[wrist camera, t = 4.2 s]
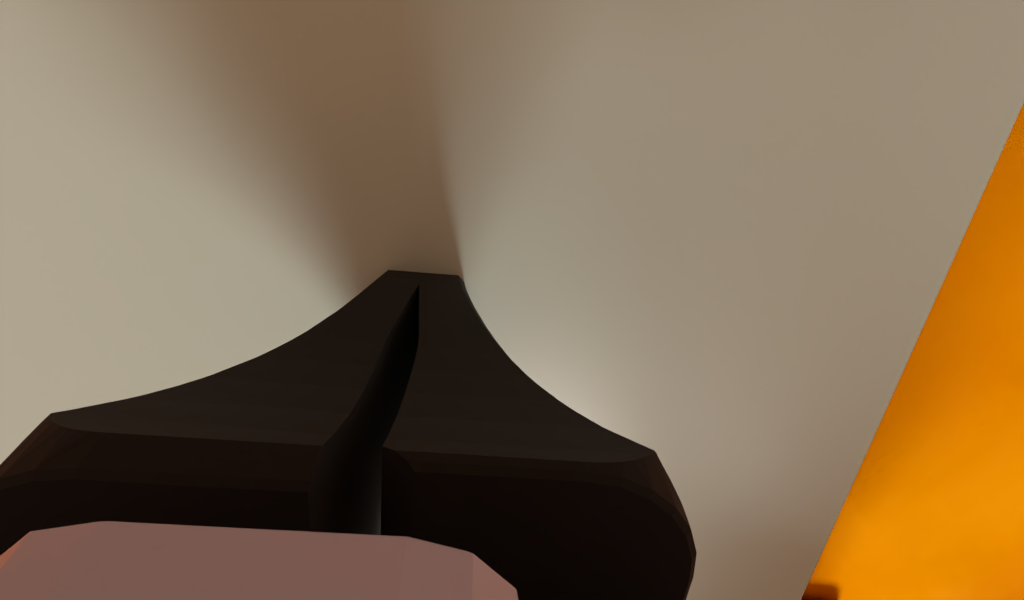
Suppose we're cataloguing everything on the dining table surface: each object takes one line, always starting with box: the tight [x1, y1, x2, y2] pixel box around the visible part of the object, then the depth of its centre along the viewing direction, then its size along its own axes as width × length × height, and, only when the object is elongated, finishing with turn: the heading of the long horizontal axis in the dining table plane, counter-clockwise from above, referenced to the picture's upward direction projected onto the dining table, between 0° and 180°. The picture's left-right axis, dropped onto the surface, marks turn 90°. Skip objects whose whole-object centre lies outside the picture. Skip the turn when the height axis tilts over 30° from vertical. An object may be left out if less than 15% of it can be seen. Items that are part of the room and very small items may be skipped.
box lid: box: [0, 0, 1024, 600], centre depth 12 cm, size 17×18×1 cm
